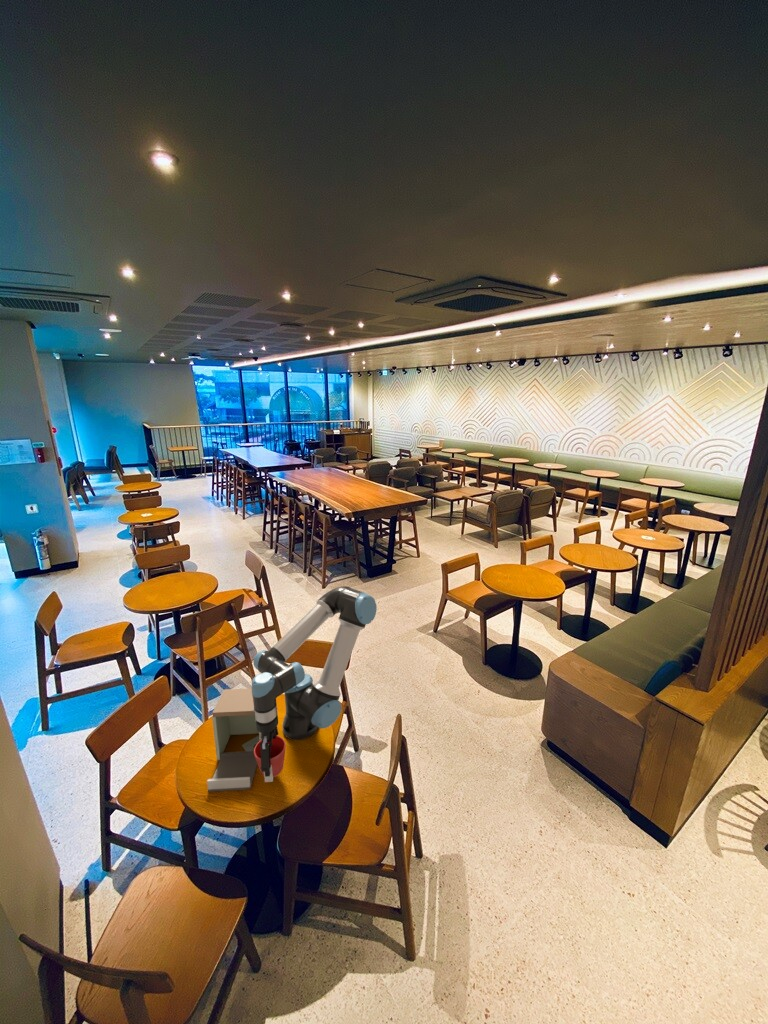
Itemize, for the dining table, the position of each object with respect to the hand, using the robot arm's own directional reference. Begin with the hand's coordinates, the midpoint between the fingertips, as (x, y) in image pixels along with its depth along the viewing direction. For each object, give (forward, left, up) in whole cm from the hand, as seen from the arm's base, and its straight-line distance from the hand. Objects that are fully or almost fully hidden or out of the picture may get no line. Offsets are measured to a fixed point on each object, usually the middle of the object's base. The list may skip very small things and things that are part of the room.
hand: (272, 768), depth 143 cm
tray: (+14, -3, -5) cm, 16 cm away
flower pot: (0, 0, 0) cm, 1 cm away
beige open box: (+14, -16, -5) cm, 22 cm away
